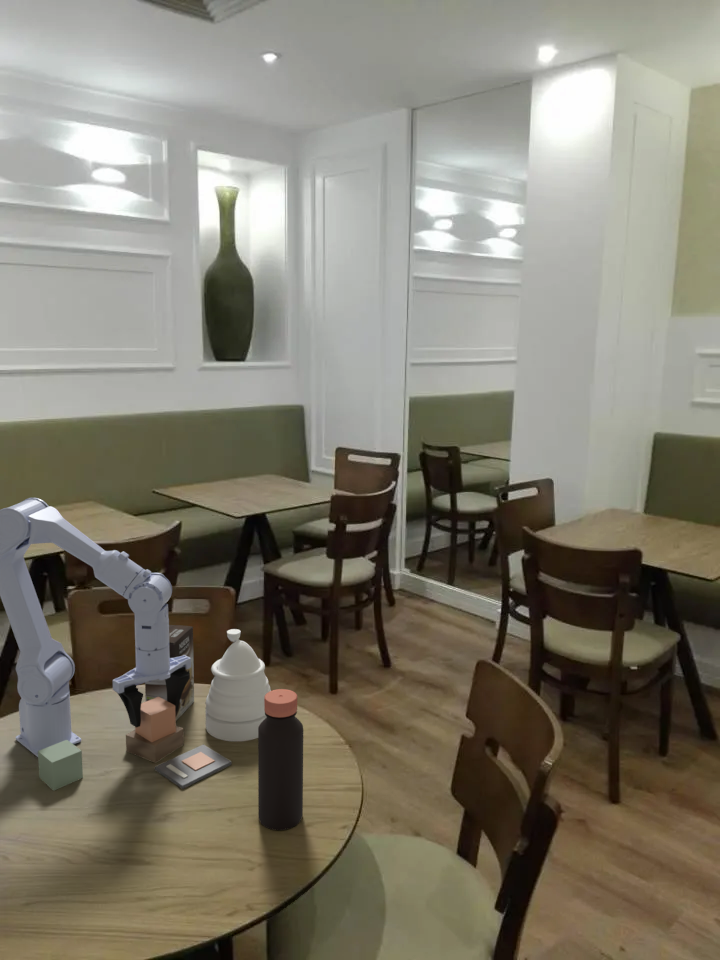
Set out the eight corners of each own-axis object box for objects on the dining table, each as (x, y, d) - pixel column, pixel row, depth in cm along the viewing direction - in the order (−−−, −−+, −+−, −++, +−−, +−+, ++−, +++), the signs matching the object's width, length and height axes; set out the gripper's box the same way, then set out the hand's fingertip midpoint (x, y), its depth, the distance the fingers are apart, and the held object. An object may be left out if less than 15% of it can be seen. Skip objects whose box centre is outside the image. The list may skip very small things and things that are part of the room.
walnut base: (126, 753, 132) (125, 734, 132) (155, 735, 138) (154, 718, 138) (155, 764, 129) (155, 746, 128) (183, 746, 135) (183, 728, 134)
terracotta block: (135, 732, 133) (134, 706, 132) (159, 721, 136) (158, 696, 135) (151, 742, 129) (150, 715, 128) (175, 731, 133) (175, 705, 132)
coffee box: (176, 723, 142) (174, 643, 140) (144, 719, 144) (142, 639, 141) (195, 701, 151) (194, 625, 148) (166, 697, 152) (164, 622, 150)
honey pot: (193, 721, 143) (191, 632, 140) (249, 701, 152) (248, 617, 148) (229, 749, 134) (228, 654, 131) (287, 726, 142) (287, 636, 139)
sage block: (39, 778, 124) (37, 751, 123) (68, 766, 127) (66, 739, 126) (53, 791, 120) (52, 762, 119) (82, 778, 124) (81, 750, 123)
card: (154, 769, 127) (154, 765, 127) (203, 747, 134) (203, 743, 134) (182, 789, 121) (182, 784, 121) (231, 764, 129) (231, 760, 129)
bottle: (309, 809, 117) (310, 690, 113) (291, 836, 110) (292, 710, 107) (270, 800, 119) (270, 682, 115) (250, 825, 113) (249, 702, 109)
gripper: (127, 663, 122) (130, 740, 125) (200, 639, 133) (201, 710, 135) (105, 651, 127) (108, 725, 129) (177, 629, 137) (179, 697, 140)
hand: (154, 717), depth 132 cm, fingers open, 7 cm apart
